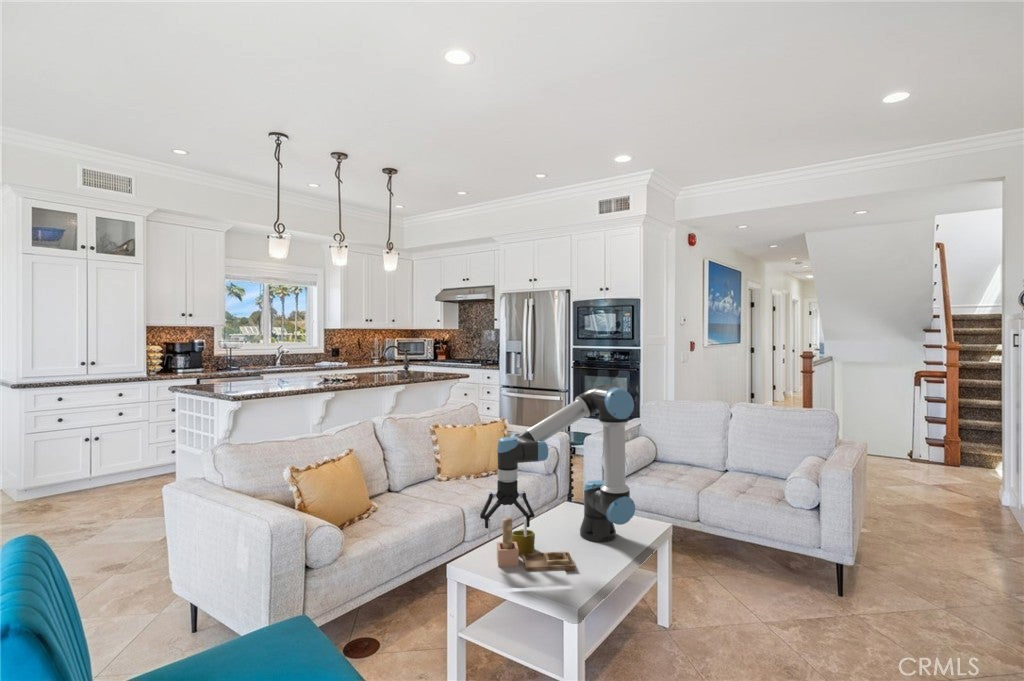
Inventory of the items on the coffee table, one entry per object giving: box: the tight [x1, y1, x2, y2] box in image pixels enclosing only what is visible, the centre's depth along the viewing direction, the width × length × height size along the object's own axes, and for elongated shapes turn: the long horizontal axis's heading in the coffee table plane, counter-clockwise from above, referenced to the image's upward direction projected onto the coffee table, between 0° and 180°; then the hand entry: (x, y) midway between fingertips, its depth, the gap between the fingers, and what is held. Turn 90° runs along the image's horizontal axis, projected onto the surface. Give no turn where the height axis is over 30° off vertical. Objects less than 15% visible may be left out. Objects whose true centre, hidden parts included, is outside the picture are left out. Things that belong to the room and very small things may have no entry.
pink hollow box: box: [496, 541, 520, 568], centre depth 201 cm, size 8×8×7 cm
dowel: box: [502, 517, 513, 549], centre depth 201 cm, size 4×4×16 cm
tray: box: [521, 551, 576, 573], centre depth 200 cm, size 18×12×3 cm, turn 96°
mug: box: [512, 528, 536, 556], centre depth 213 cm, size 12×10×10 cm
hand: (507, 536), depth 201 cm, fingers open, 13 cm apart
